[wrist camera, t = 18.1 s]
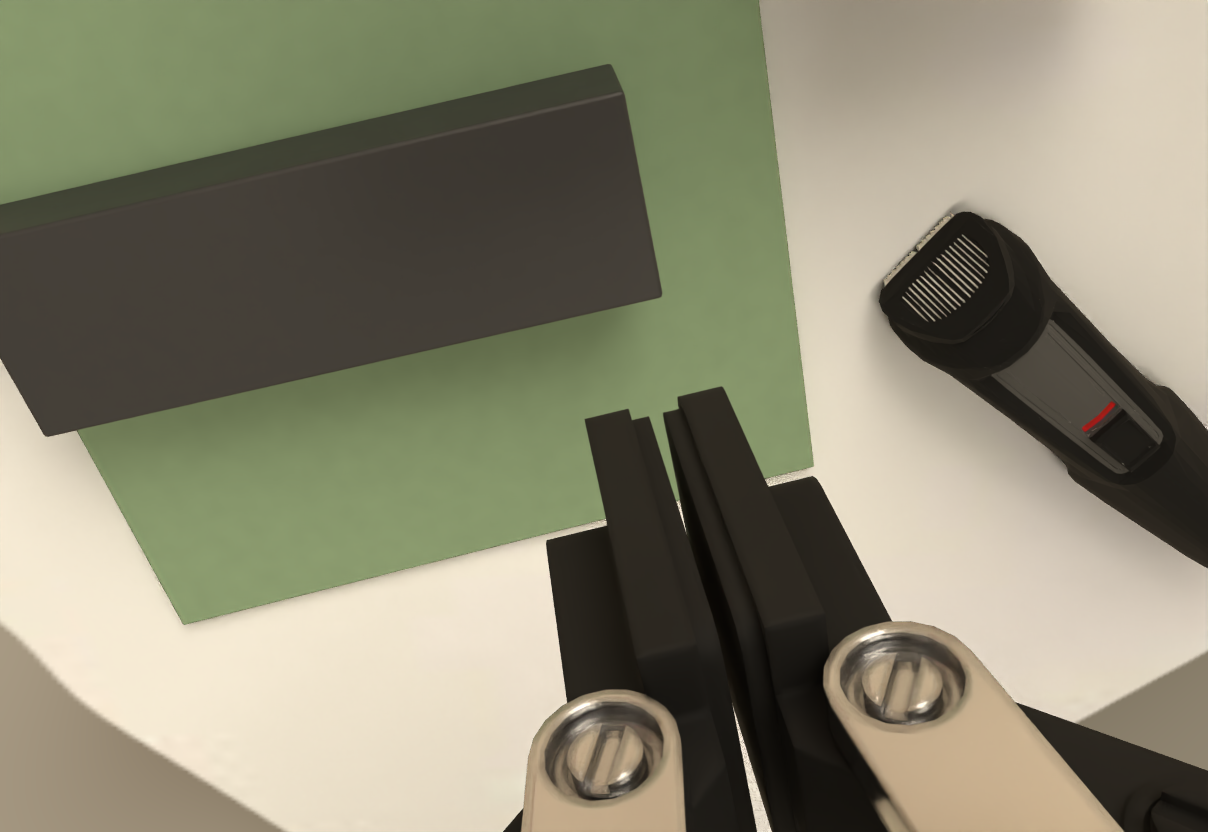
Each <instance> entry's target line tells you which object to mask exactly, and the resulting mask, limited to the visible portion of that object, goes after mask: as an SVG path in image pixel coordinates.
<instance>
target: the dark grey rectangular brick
mask: <svg viewBox="0 0 1208 832" xmlns="http://www.w3.org/2000/svg"><path fill="white" fill-rule="evenodd" d="M662 293H663V292H662V287H661V282H660V277H659V271H658V266H657V261H656V256H655V250H654V245H653V240H652V235H651V229H650V224H649V219H648V214H647V208H646V203H645V198H644V193H643V187H642V182H641V177H640V172H639V166H638V161H637V156H636V151H635V145H634V140H633V135H632V130H631V124H630V119H629V114H628V109H627V103H626V98H625V94H624V91H623V89H622V87H621V84H620V82H619V80H618V78H617V75H616V73H615V71H614V69H613V67H612V65H611V64H605V65H601V66H597V67H592V68H588V69H584V70H579V71H575V72H571V73H566V74H562V75H558V76H553V77H549V78H545V79H540V80H536V81H532V82H528V83H523V84H519V85H515V86H510V87H506V88H502V89H497V90H493V91H489V92H484V93H480V94H476V95H471V96H467V97H463V98H458V99H454V100H450V101H446V102H441V103H437V104H433V105H428V106H424V107H420V108H415V109H411V110H407V111H402V112H398V113H394V114H389V115H385V116H381V117H377V118H372V119H368V120H364V121H359V122H355V123H351V124H346V125H342V126H338V127H333V128H329V129H325V130H320V131H316V132H312V133H307V134H303V135H299V136H295V137H290V138H286V139H282V140H277V141H273V142H269V143H264V144H260V145H256V146H251V147H247V148H243V149H238V150H234V151H230V152H226V153H221V154H217V155H213V156H208V157H204V158H200V159H195V160H191V161H187V162H182V163H178V164H174V165H169V166H165V167H161V168H156V169H152V170H148V171H144V172H139V173H135V174H131V175H126V176H122V177H118V178H113V179H109V180H105V181H100V182H96V183H92V184H87V185H83V186H79V187H75V188H70V189H66V190H62V191H57V192H53V193H49V194H44V195H40V196H36V197H31V198H27V199H23V200H18V201H14V202H10V203H5V204H1V205H0V359H1V360H2V362H3V364H4V366H5V367H6V369H7V371H8V373H9V374H10V376H11V378H12V380H13V381H14V383H15V385H16V387H17V388H18V390H19V392H20V394H21V395H22V397H23V399H24V401H25V402H26V404H27V406H28V408H29V409H30V411H31V413H32V415H33V416H34V418H35V420H36V422H37V423H38V425H39V427H40V429H41V430H42V432H43V434H44V435H45V436H47V437H49V436H54V435H58V434H62V433H67V432H71V431H76V430H80V429H84V428H89V427H93V426H98V425H102V424H106V423H111V422H115V421H120V420H124V419H128V418H133V417H137V416H142V415H146V414H150V413H155V412H159V411H164V410H168V409H173V408H177V407H181V406H186V405H190V404H195V403H199V402H203V401H208V400H212V399H217V398H221V397H225V396H230V395H234V394H239V393H243V392H247V391H252V390H256V389H261V388H265V387H269V386H274V385H278V384H283V383H287V382H291V381H296V380H300V379H305V378H309V377H313V376H318V375H322V374H327V373H331V372H336V371H340V370H344V369H349V368H353V367H358V366H362V365H366V364H371V363H375V362H380V361H384V360H388V359H393V358H397V357H402V356H406V355H410V354H415V353H419V352H424V351H428V350H432V349H437V348H441V347H446V346H450V345H454V344H459V343H463V342H468V341H472V340H476V339H481V338H485V337H490V336H494V335H499V334H503V333H507V332H512V331H516V330H521V329H525V328H529V327H534V326H538V325H543V324H547V323H551V322H556V321H560V320H565V319H569V318H573V317H578V316H582V315H587V314H591V313H595V312H600V311H604V310H609V309H613V308H617V307H622V306H626V305H631V304H635V303H639V302H644V301H648V300H653V299H657V298H660V297H662Z"/></svg>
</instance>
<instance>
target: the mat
mask: <svg viewBox="0 0 1208 832" xmlns="http://www.w3.org/2000/svg"><path fill="white" fill-rule="evenodd" d="M605 64H611V65H612V67H613V69H614V71H615V73H616V75H617V78H618V80H619V82H620V84H621V87H622V89H623V91H624V94H625V98H626V103H627V109H628V114H629V119H630V124H631V130H632V135H633V140H634V145H635V151H636V156H637V161H638V166H639V172H640V177H641V182H642V187H643V193H644V198H645V203H646V208H647V214H648V219H649V224H650V229H651V235H652V240H653V245H654V250H655V256H656V261H657V266H658V271H659V277H660V282H661V287H662V292H663V293H662V297H660V298H657V299H653V300H648V301H644V302H639V303H635V304H631V305H626V306H622V307H617V308H613V309H609V310H604V311H600V312H595V313H591V314H587V315H582V316H578V317H573V318H569V319H565V320H560V321H556V322H551V323H547V324H543V325H538V326H534V327H529V328H525V329H521V330H516V331H512V332H507V333H503V334H499V335H494V336H490V337H485V338H481V339H476V340H472V341H468V342H463V343H459V344H454V345H450V346H446V347H441V348H437V349H432V350H428V351H424V352H419V353H415V354H410V355H406V356H402V357H397V358H393V359H388V360H384V361H380V362H375V363H371V364H366V365H362V366H358V367H353V368H349V369H344V370H340V371H336V372H331V373H327V374H322V375H318V376H313V377H309V378H305V379H300V380H296V381H291V382H287V383H283V384H278V385H274V386H269V387H265V388H261V389H256V390H252V391H247V392H243V393H239V394H234V395H230V396H225V397H221V398H217V399H212V400H208V401H203V402H199V403H195V404H190V405H186V406H181V407H177V408H173V409H168V410H164V411H159V412H155V413H150V414H146V415H142V416H137V417H133V418H128V419H124V420H120V421H115V422H111V423H106V424H102V425H98V426H93V427H89V428H84V429H80V430H77V432H78V434H79V435H80V437H81V439H82V441H83V443H84V445H85V446H86V448H87V450H88V452H89V454H90V455H91V457H92V459H93V461H94V463H95V465H96V466H97V468H98V470H99V472H100V474H101V476H102V477H103V479H104V481H105V483H106V485H107V486H108V488H109V490H110V492H111V494H112V496H113V497H114V499H115V501H116V503H117V505H118V506H119V508H120V510H121V512H122V514H123V516H124V517H125V519H126V521H127V523H128V525H129V526H130V528H131V530H132V532H133V534H134V536H135V537H136V539H137V541H138V543H139V545H140V546H141V548H142V550H143V552H144V554H145V556H146V557H147V559H148V561H149V563H150V565H151V567H152V568H153V570H154V572H155V574H156V576H157V577H158V579H159V581H160V583H161V585H162V587H163V588H164V590H165V592H166V594H167V596H168V597H169V599H170V601H171V603H172V605H173V607H174V608H175V610H176V612H177V614H178V616H179V617H180V619H181V621H182V623H183V624H184V625H185V624H189V623H193V622H197V621H201V620H205V619H209V618H213V617H217V616H221V615H225V614H229V613H233V612H237V611H241V610H245V609H249V608H253V607H257V606H261V605H265V604H269V603H273V602H277V601H281V600H285V599H289V598H293V597H297V596H301V595H305V594H309V593H313V592H317V591H321V590H325V589H329V588H333V587H337V586H341V585H345V584H348V583H352V582H356V581H360V580H364V579H368V578H372V577H376V576H380V575H384V574H388V573H392V572H396V571H400V570H404V569H408V568H412V567H416V566H420V565H424V564H428V563H432V562H436V561H440V560H444V559H448V558H452V557H456V556H460V555H464V554H468V553H472V552H476V551H480V550H484V549H488V548H492V547H496V546H500V545H504V544H508V543H511V542H515V541H519V540H523V539H527V538H531V537H535V536H539V535H543V534H547V533H551V532H555V531H559V530H563V529H567V528H571V527H575V526H579V525H583V524H587V523H591V522H595V521H599V520H603V519H606V517H605V512H604V507H603V503H602V498H601V494H600V489H599V484H598V480H597V475H596V471H595V466H594V461H593V457H592V452H591V448H590V443H589V438H588V434H587V429H586V425H585V419H587V418H591V417H595V416H599V415H604V414H608V413H612V412H616V411H620V410H624V409H629V412H630V415H631V418H632V420H635V419H639V418H643V417H647V416H649V418H650V420H651V424H652V427H653V430H654V433H655V436H656V439H657V443H658V446H659V449H660V452H661V455H662V458H663V461H664V465H665V468H666V471H667V474H668V477H669V480H670V484H671V487H672V490H673V493H674V496H675V499H676V501H678V500H680V498H679V493H678V488H677V483H676V478H675V473H674V468H673V463H672V458H671V453H670V448H669V444H668V439H667V434H666V429H665V424H664V418H663V413H664V412H668V411H672V410H676V409H679V407H678V400H677V398H678V396H683V395H687V394H691V393H695V392H699V391H703V390H708V389H712V388H716V387H720V386H722V387H723V388H724V390H725V392H726V394H727V396H728V398H729V401H730V403H731V405H732V407H733V409H734V412H735V414H736V416H737V418H738V421H739V423H740V425H741V427H742V429H743V432H744V434H745V436H746V438H747V441H748V443H749V445H750V447H751V450H752V452H753V454H754V456H755V458H756V461H757V463H758V465H759V467H760V470H761V472H762V474H763V476H764V478H765V479H766V478H770V477H774V476H778V475H782V474H786V473H790V472H794V471H798V470H802V469H806V468H810V467H813V466H814V463H813V455H812V446H811V438H810V430H809V421H808V413H807V404H806V396H805V387H804V379H803V371H802V362H801V354H800V345H799V337H798V328H797V320H796V312H795V303H794V295H793V286H792V278H791V270H790V261H789V253H788V244H787V236H786V227H785V219H784V211H783V202H782V194H781V185H780V177H779V168H778V160H777V152H776V143H775V135H774V126H773V118H772V109H771V101H770V93H769V84H768V76H767V67H766V59H765V50H764V42H763V34H762V25H761V17H760V8H759V0H0V205H1V204H5V203H10V202H14V201H18V200H23V199H27V198H31V197H36V196H40V195H44V194H49V193H53V192H57V191H62V190H66V189H70V188H75V187H79V186H83V185H87V184H92V183H96V182H100V181H105V180H109V179H113V178H118V177H122V176H126V175H131V174H135V173H139V172H144V171H148V170H152V169H156V168H161V167H165V166H169V165H174V164H178V163H182V162H187V161H191V160H195V159H200V158H204V157H208V156H213V155H217V154H221V153H226V152H230V151H234V150H238V149H243V148H247V147H251V146H256V145H260V144H264V143H269V142H273V141H277V140H282V139H286V138H290V137H295V136H299V135H303V134H307V133H312V132H316V131H320V130H325V129H329V128H333V127H338V126H342V125H346V124H351V123H355V122H359V121H364V120H368V119H372V118H377V117H381V116H385V115H389V114H394V113H398V112H402V111H407V110H411V109H415V108H420V107H424V106H428V105H433V104H437V103H441V102H446V101H450V100H454V99H458V98H463V97H467V96H471V95H476V94H480V93H484V92H489V91H493V90H497V89H502V88H506V87H510V86H515V85H519V84H523V83H528V82H532V81H536V80H540V79H545V78H549V77H553V76H558V75H562V74H566V73H571V72H575V71H579V70H584V69H588V68H592V67H597V66H601V65H605Z"/></svg>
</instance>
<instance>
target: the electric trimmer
mask: <svg viewBox="0 0 1208 832" xmlns="http://www.w3.org/2000/svg"><path fill="white" fill-rule="evenodd" d="M950 214H951V216H952V218H951V217H948V216H945V217H946V218H943V219H944V221H942V220H941V222H942V223H940V222H939V224H940V226H939V225H937V227H935V230H933V229H932V230H933V232H932V231H930V233H931V235H930V234H928V236H926V238H927V239H925V238H924V241H923V240H921V241H922V243H920V242H919V243H920V245H918V244H917V247H916V248H917V249H918V252H913V251H911V253H909V256H910V257H909V256H907V258H905V257H904V258H905V261H904V260H902V261H903V263H902V262H900V263H901V265H898V266H899V267H897V266H896V268H897V270H896V269H894V270H895V271H892V273H893V274H891V273H890V275H891V276H890V275H888V278H886V280H885V279H883V281H884V285H885V287H884V288H883V289H882V290H881V294H880V298H879V303H880V306H881V308H882V311H883V312H884V313H885V314H886V315H887V316H888V319H889V323H890V326H891V327H892V329H893V330H894V332H895V333H896V334H897V335H898V337H899V338H900V339H901V340H902V341H903V343H904V344H905V345H906V346H907V347H908V348H909V349H910V350H911V351H912V352H914V353H915V354H916V355H917V356H918V357H919V358H921V359H922V360H923V361H925V362H927V363H929V364H931V365H933V366H935V367H937V368H938V369H940V370H942V371H944V372H946V373H948V374H950V375H951V376H952V377H954V378H955V379H957V380H958V381H959V382H961V383H962V384H963V385H965V386H966V387H967V388H969V389H970V390H972V391H973V392H974V393H976V394H977V395H978V396H980V397H981V398H982V399H984V400H985V401H986V402H988V403H989V404H991V405H992V406H993V407H995V408H996V409H997V410H999V411H1000V412H1001V413H1003V414H1004V415H1006V416H1007V417H1008V418H1010V419H1011V420H1012V421H1014V422H1015V423H1016V424H1017V425H1019V426H1020V427H1021V428H1023V429H1024V430H1025V431H1027V432H1028V433H1029V434H1030V435H1032V436H1033V437H1034V438H1036V439H1037V440H1038V441H1040V442H1041V443H1042V444H1043V445H1045V446H1046V447H1047V448H1049V449H1050V450H1051V451H1052V452H1053V453H1055V454H1056V455H1057V456H1058V457H1059V458H1060V459H1061V460H1062V461H1063V462H1064V463H1065V464H1066V466H1067V468H1068V474H1069V475H1070V476H1071V478H1072V479H1073V480H1074V481H1075V482H1077V483H1078V484H1079V485H1081V486H1082V487H1084V488H1085V489H1087V490H1088V491H1089V492H1091V493H1092V494H1094V495H1095V496H1097V497H1098V498H1099V499H1101V500H1102V501H1104V502H1105V503H1107V504H1108V505H1110V506H1111V507H1113V508H1114V509H1116V510H1117V511H1119V512H1120V513H1122V514H1123V515H1125V516H1126V517H1128V518H1129V519H1131V520H1132V521H1134V522H1135V523H1137V524H1138V525H1140V526H1141V527H1143V528H1144V529H1146V530H1148V531H1149V532H1151V533H1152V534H1154V535H1155V536H1157V537H1158V538H1160V539H1161V540H1163V541H1164V542H1166V543H1167V544H1169V545H1170V546H1172V547H1173V548H1175V549H1176V550H1178V551H1179V552H1181V553H1182V554H1184V555H1185V556H1187V557H1189V558H1191V559H1192V560H1194V561H1196V562H1197V563H1199V564H1201V565H1203V566H1204V567H1206V568H1208V431H1207V429H1206V428H1205V427H1204V426H1203V424H1202V423H1201V422H1200V421H1199V419H1198V418H1197V417H1196V416H1195V414H1194V413H1193V412H1192V411H1191V410H1190V409H1189V408H1188V407H1187V406H1186V405H1185V404H1184V402H1183V401H1182V400H1181V399H1180V398H1179V397H1178V396H1177V395H1176V394H1175V393H1174V392H1173V391H1172V390H1171V389H1169V388H1167V387H1165V386H1156V385H1155V384H1153V383H1152V382H1150V381H1149V380H1147V379H1146V378H1145V377H1144V376H1143V375H1142V374H1141V373H1140V372H1139V371H1138V370H1137V369H1136V368H1135V367H1134V366H1133V365H1132V364H1131V363H1130V362H1129V361H1128V360H1127V359H1125V358H1124V357H1123V356H1122V355H1121V354H1120V353H1119V352H1118V351H1117V350H1116V349H1115V348H1114V347H1113V346H1112V345H1111V344H1110V342H1109V341H1108V340H1107V339H1106V338H1105V337H1104V336H1103V335H1102V334H1101V333H1100V332H1099V331H1098V330H1097V329H1096V327H1095V326H1094V325H1093V324H1092V323H1091V322H1090V321H1089V320H1088V319H1087V318H1086V317H1085V316H1084V315H1083V314H1082V312H1081V311H1080V310H1079V309H1078V308H1077V307H1076V306H1075V305H1074V304H1073V303H1072V302H1071V301H1070V300H1069V299H1068V297H1067V296H1066V295H1065V294H1064V293H1063V292H1062V291H1061V290H1060V289H1059V288H1058V287H1057V286H1056V285H1055V284H1054V282H1053V281H1052V280H1051V279H1050V278H1049V276H1048V275H1047V273H1046V272H1045V270H1044V268H1043V267H1042V265H1041V264H1040V262H1039V261H1038V259H1037V258H1036V256H1035V255H1034V253H1033V252H1032V250H1031V249H1030V247H1029V246H1028V245H1027V244H1026V243H1025V242H1024V241H1023V240H1022V239H1021V238H1020V237H1018V236H1017V235H1015V234H1014V233H1012V232H1011V231H1010V230H1008V229H1007V228H1005V227H1004V226H1002V225H1001V224H999V223H997V222H995V221H993V220H989V219H982V218H981V217H980V216H978V215H976V214H974V213H972V212H961V213H958V214H956V215H955V216H954V215H953V214H952V213H951V212H950Z"/></svg>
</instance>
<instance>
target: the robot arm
mask: <svg viewBox="0 0 1208 832" xmlns="http://www.w3.org/2000/svg"><path fill="white" fill-rule="evenodd" d="M677 400H678V407H679V409H676V410H672V411H668V412H664V413H663V418H664V424H665V429H666V434H667V439H668V444H669V448H670V453H671V458H672V463H673V468H674V473H675V478H676V483H677V488H678V493H679V498H680V503H681V508H682V513H683V518H684V523H685V528H686V531H685V528H684V525H683V521H682V518H681V515H680V512H679V509H678V506H677V503H676V499H675V496H674V493H673V490H672V487H671V484H670V480H669V477H668V474H667V471H666V468H665V465H664V461H663V458H662V455H661V452H660V449H659V446H658V443H657V439H656V436H655V433H654V430H653V427H652V424H651V420H650V418H649V416H647V417H643V418H639V419H635V420H632V418H631V415H630V412H629V409H624V410H620V411H616V412H612V413H608V414H604V415H599V416H595V417H591V418H587V419H585V425H586V429H587V434H588V438H589V443H590V448H591V452H592V457H593V461H594V466H595V471H596V475H597V480H598V484H599V489H600V494H601V498H602V503H603V507H604V512H605V517H606V521H607V526H604V527H600V528H595V529H591V530H587V531H583V532H579V533H575V534H571V535H566V536H562V537H558V538H554V539H550V540H547V542H546V547H547V556H548V563H549V571H550V578H551V586H552V593H553V601H554V608H555V615H556V623H557V630H558V638H559V645H560V653H561V660H562V668H563V675H564V682H565V690H566V697H567V704H565V705H563V706H561V707H560V708H559V709H558V710H557V711H556V712H554V713H553V714H552V715H551V716H550V717H549V718H548V719H546V720H545V722H544V723H543V725H542V726H541V728H540V729H539V731H538V732H537V734H536V735H535V737H534V738H533V742H532V745H531V749H530V753H529V756H528V764H527V775H526V785H525V796H524V807H523V809H522V810H521V811H520V813H519V814H518V815H517V816H516V817H515V818H514V820H513V821H512V822H511V823H510V824H509V825H508V827H507V828H506V829H505V830H504V831H503V832H757V829H756V824H755V819H754V814H753V808H752V803H751V798H750V793H749V788H748V783H747V777H746V772H745V767H744V762H743V757H742V752H741V746H740V741H739V736H738V731H737V726H736V721H735V716H734V710H735V714H736V717H737V720H738V723H739V727H740V730H741V733H742V736H743V740H744V743H745V746H746V749H747V753H748V756H749V759H750V762H751V765H752V769H753V772H754V775H755V778H756V782H757V785H758V788H759V791H760V795H761V798H762V801H763V804H764V808H765V811H766V814H767V817H768V821H769V824H770V827H771V830H772V832H1208V771H1207V770H1204V769H1201V768H1199V767H1196V766H1193V765H1190V764H1187V763H1184V762H1182V761H1179V760H1176V759H1173V758H1171V757H1168V756H1165V755H1162V754H1159V753H1156V752H1154V751H1151V750H1148V749H1145V748H1143V747H1140V746H1137V745H1134V744H1131V743H1128V742H1126V741H1123V740H1120V739H1117V738H1114V737H1112V736H1109V735H1106V734H1103V733H1100V732H1098V731H1095V730H1092V729H1089V728H1086V727H1084V726H1081V725H1078V724H1075V723H1072V722H1070V721H1067V720H1064V719H1061V718H1058V717H1056V716H1053V715H1050V714H1047V713H1044V712H1042V711H1039V710H1036V709H1033V708H1030V707H1028V706H1025V705H1022V704H1019V703H1016V702H1014V700H1013V699H1012V698H1011V697H1010V696H1009V695H1008V693H1007V692H1006V691H1005V690H1004V689H1003V687H1002V686H1001V685H1000V684H999V683H998V682H997V680H996V679H995V678H994V677H993V676H992V674H991V673H990V672H989V671H988V670H987V668H986V667H985V666H984V665H983V664H982V663H981V661H980V660H979V659H978V658H977V657H976V655H975V654H974V653H973V652H972V651H971V650H970V649H969V648H968V647H967V646H966V645H964V644H963V643H962V642H961V641H960V640H959V639H957V638H956V637H955V636H953V635H951V634H949V633H947V632H945V631H943V630H941V629H938V628H936V627H934V626H930V625H925V624H920V623H916V622H911V621H909V622H892V620H891V618H890V616H889V615H888V613H887V611H886V609H885V607H884V605H883V603H882V601H881V599H880V597H879V595H878V594H877V592H876V590H875V588H874V586H873V584H872V582H871V580H870V578H869V576H868V574H867V572H866V571H865V569H864V567H863V565H862V563H861V561H860V559H859V557H858V555H857V553H856V551H855V549H854V548H853V546H852V544H851V542H850V540H849V538H848V536H847V534H846V532H845V530H844V528H843V526H842V525H841V523H840V521H839V519H838V517H837V515H836V513H835V511H834V509H833V507H832V505H831V503H830V502H829V500H828V498H827V496H826V494H825V492H824V490H823V488H822V486H821V485H820V483H819V482H818V480H817V479H816V478H815V477H813V476H811V477H807V478H803V479H799V480H795V481H791V482H786V483H782V484H778V485H774V486H770V487H768V485H767V483H766V481H765V478H764V476H763V474H762V472H761V470H760V467H759V465H758V463H757V461H756V458H755V456H754V454H753V452H752V450H751V447H750V445H749V443H748V441H747V438H746V436H745V434H744V432H743V429H742V427H741V425H740V423H739V421H738V418H737V416H736V414H735V412H734V409H733V407H732V405H731V403H730V401H729V398H728V396H727V394H726V392H725V390H724V388H723V387H722V386H720V387H716V388H712V389H708V390H703V391H699V392H695V393H691V394H687V395H683V396H678V398H677ZM686 533H687V534H686ZM732 704H733V705H732ZM733 707H734V710H733Z"/></svg>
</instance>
